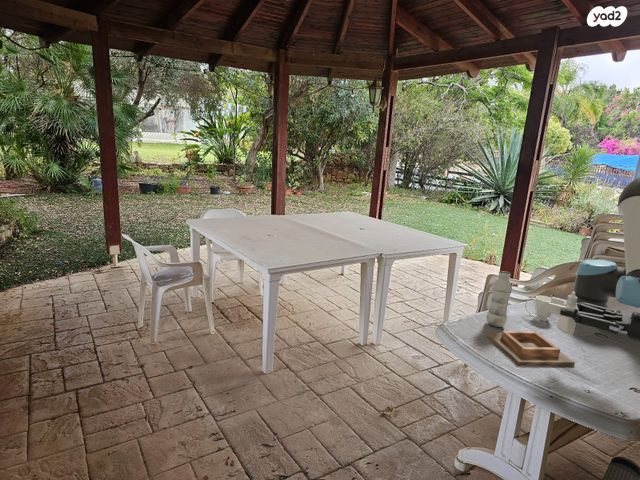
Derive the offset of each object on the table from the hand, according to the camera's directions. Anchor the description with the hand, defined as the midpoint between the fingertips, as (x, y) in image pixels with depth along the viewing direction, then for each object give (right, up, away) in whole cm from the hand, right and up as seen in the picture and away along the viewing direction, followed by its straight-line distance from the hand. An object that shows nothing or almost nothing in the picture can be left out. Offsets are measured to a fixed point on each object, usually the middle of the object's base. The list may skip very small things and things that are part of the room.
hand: (549, 304), depth 120 cm
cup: (+16, -11, +36) cm, 41 cm away
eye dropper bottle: (+4, -8, -1) cm, 9 cm away
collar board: (-2, -16, +8) cm, 18 cm away
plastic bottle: (-5, -12, +25) cm, 29 cm away
